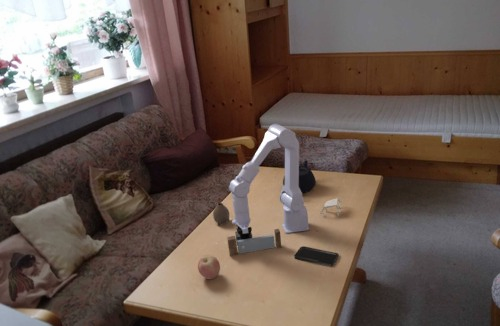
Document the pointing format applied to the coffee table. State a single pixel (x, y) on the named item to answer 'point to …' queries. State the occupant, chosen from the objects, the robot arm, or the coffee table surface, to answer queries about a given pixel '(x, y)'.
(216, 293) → the coffee table surface
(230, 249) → the door frame
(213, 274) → the apple
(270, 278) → the coffee table surface
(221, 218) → the vase
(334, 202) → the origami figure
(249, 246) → the door
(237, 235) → the block
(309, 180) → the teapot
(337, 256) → the phone
